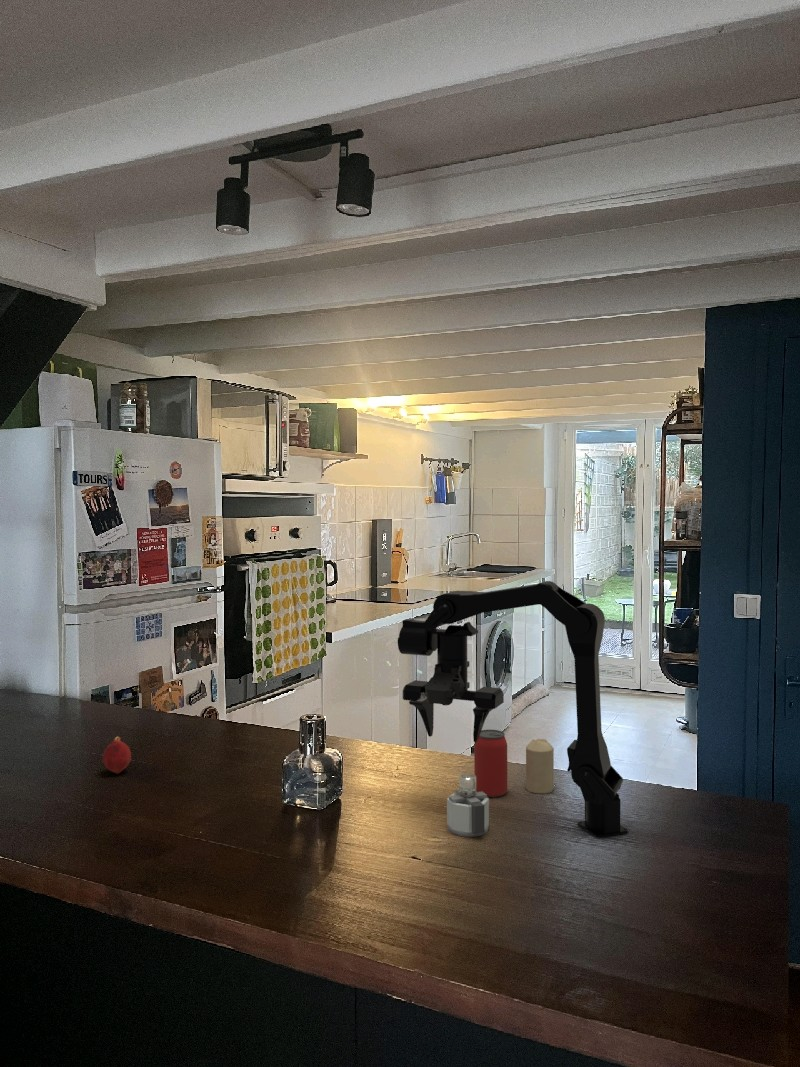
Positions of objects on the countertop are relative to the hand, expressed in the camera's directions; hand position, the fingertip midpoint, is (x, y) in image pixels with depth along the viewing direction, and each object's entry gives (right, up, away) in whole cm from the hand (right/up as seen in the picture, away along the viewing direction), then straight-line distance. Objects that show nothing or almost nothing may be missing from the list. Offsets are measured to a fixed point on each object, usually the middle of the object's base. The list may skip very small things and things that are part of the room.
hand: (452, 738), depth 157 cm
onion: (-71, -13, +21) cm, 76 cm away
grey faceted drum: (+2, -13, -10) cm, 17 cm away
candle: (+18, -13, +9) cm, 24 cm away
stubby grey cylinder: (+2, -12, -11) cm, 16 cm away
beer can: (+8, -13, +8) cm, 17 cm away
